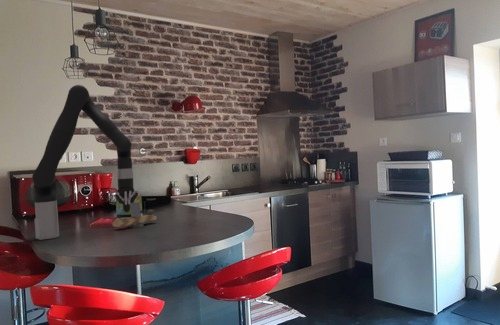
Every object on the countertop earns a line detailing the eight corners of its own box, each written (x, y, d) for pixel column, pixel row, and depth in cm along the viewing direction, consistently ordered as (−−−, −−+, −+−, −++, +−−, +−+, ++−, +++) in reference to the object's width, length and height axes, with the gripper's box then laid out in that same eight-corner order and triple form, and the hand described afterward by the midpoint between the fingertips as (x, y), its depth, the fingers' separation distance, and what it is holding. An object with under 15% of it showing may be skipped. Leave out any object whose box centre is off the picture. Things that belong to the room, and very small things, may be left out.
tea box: (135, 223, 210) (133, 196, 210) (116, 224, 211) (114, 197, 210) (143, 218, 226) (141, 193, 225) (125, 219, 226) (124, 194, 225)
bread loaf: (118, 231, 190) (117, 216, 190) (112, 229, 195) (111, 215, 195) (157, 223, 206) (156, 210, 206) (150, 222, 211) (149, 209, 211)
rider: (135, 219, 198) (134, 201, 198) (131, 218, 201) (130, 201, 201) (141, 218, 201) (139, 201, 200) (136, 217, 203) (135, 200, 203)
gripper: (116, 178, 190) (118, 214, 190) (141, 176, 199) (142, 210, 199) (109, 178, 195) (110, 213, 195) (133, 176, 204) (134, 210, 204)
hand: (126, 211), depth 197 cm, fingers closed
